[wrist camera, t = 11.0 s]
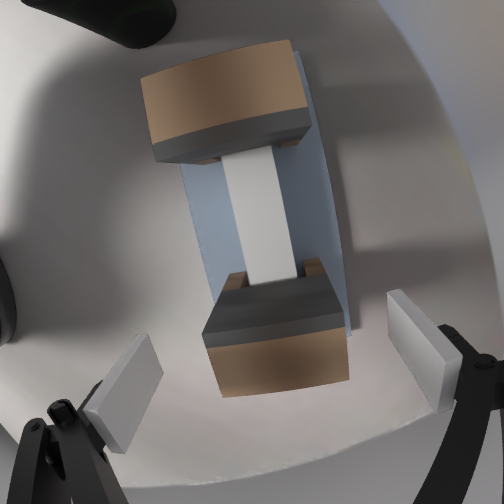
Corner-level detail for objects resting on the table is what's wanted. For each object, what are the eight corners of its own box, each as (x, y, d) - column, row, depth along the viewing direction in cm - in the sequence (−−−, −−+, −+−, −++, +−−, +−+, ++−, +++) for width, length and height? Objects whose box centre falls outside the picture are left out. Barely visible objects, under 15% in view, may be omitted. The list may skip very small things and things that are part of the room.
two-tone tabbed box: (241, 321, 24) (222, 397, 15) (229, 273, 23) (201, 334, 14) (326, 307, 23) (349, 379, 14) (319, 257, 22) (343, 311, 13)
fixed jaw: (284, 90, 19) (289, 38, 11) (297, 144, 20) (312, 125, 12) (192, 112, 20) (140, 78, 11) (203, 165, 21) (155, 161, 12)
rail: (231, 349, 26) (224, 377, 22) (167, 85, 21) (147, 71, 17) (348, 330, 24) (359, 356, 20) (297, 54, 19) (301, 33, 15)
